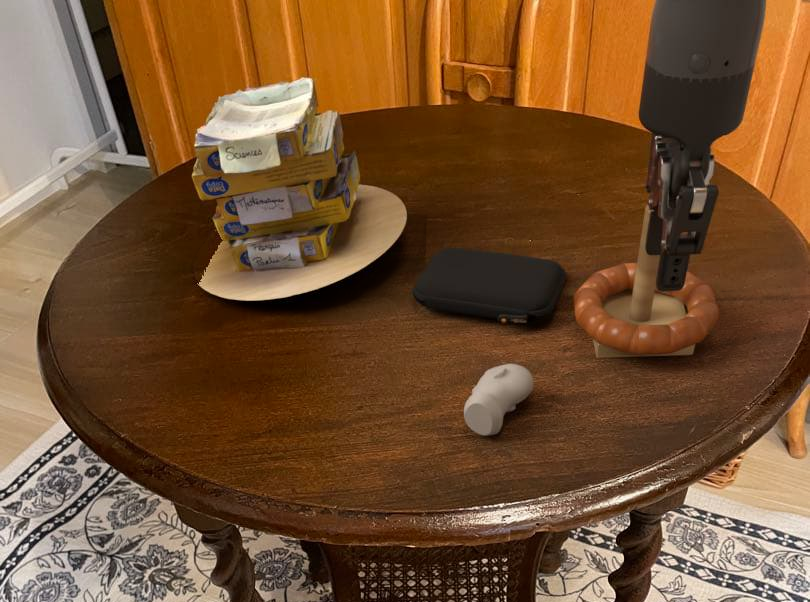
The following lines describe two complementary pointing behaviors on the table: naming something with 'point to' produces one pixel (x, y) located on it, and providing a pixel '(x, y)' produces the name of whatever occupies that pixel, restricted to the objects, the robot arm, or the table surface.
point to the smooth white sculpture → (496, 397)
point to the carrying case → (490, 285)
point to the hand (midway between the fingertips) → (663, 269)
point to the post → (643, 301)
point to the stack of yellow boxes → (286, 196)
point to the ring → (643, 336)
